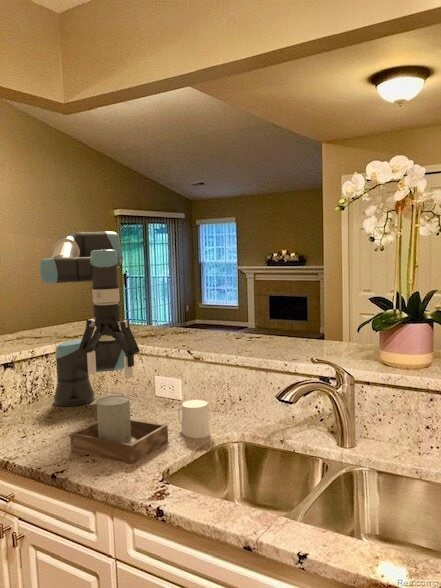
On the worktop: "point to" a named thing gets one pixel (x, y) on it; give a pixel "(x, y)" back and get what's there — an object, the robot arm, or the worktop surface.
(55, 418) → the worktop surface
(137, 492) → the worktop surface
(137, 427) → the box
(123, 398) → the grey speckled cylinder
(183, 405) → the mug
